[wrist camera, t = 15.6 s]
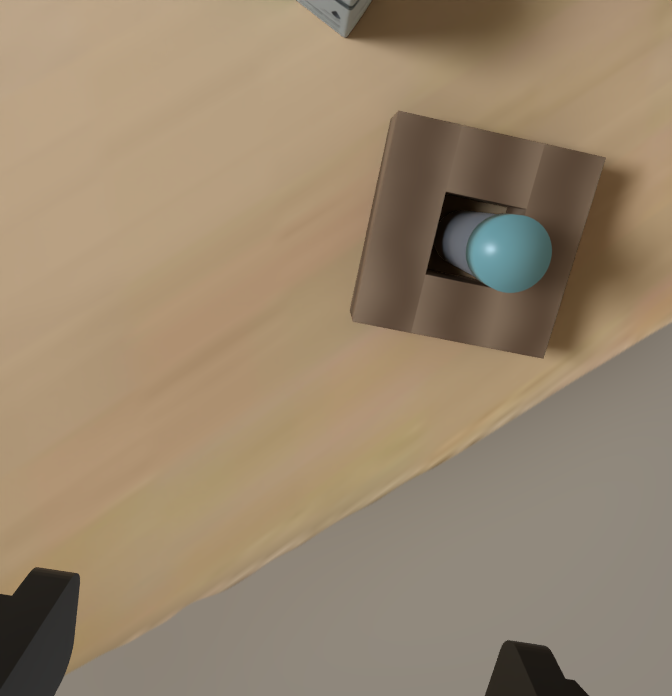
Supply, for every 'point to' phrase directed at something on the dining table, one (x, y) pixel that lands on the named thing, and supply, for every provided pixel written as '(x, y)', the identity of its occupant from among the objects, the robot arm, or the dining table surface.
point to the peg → (495, 248)
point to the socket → (422, 220)
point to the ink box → (338, 12)
